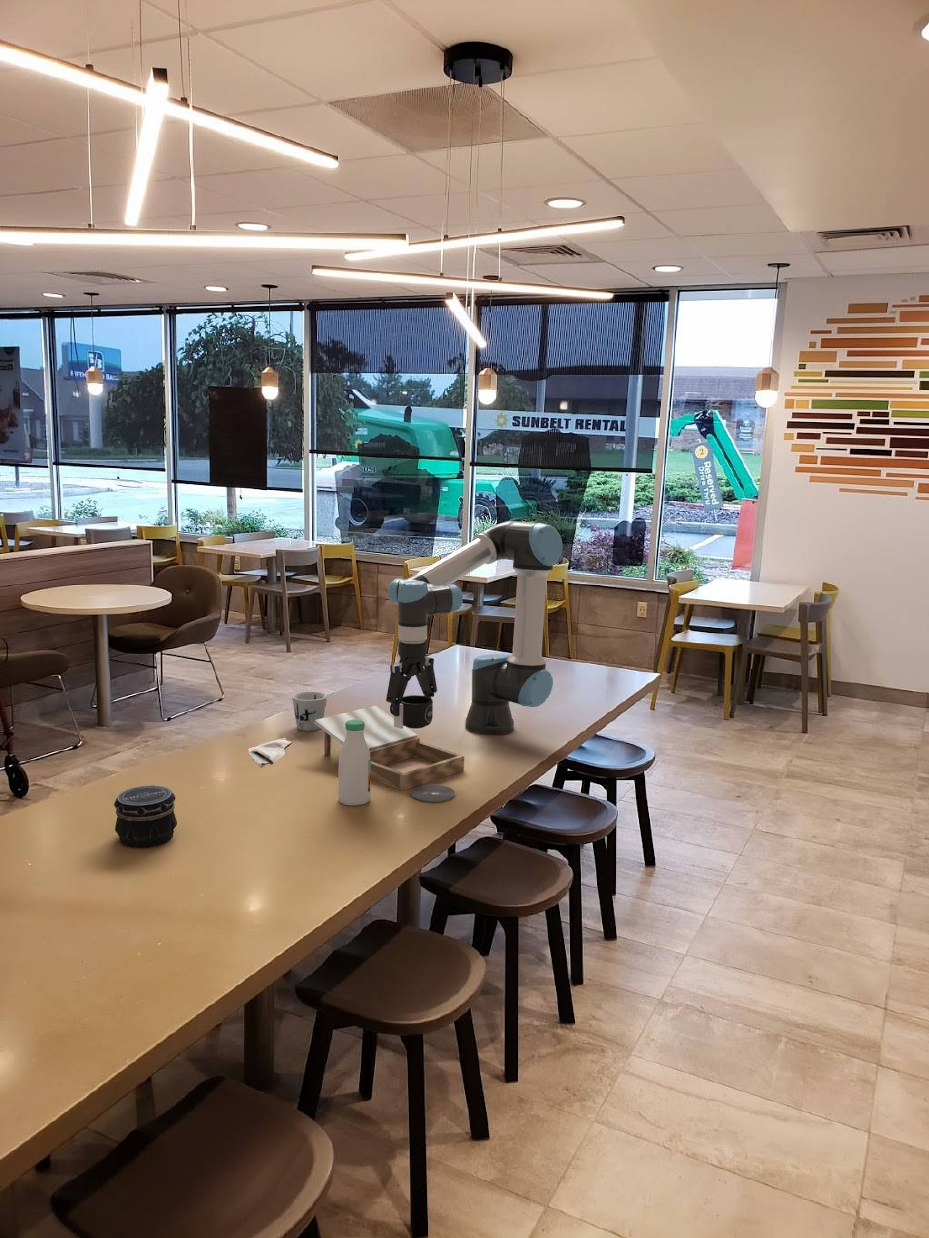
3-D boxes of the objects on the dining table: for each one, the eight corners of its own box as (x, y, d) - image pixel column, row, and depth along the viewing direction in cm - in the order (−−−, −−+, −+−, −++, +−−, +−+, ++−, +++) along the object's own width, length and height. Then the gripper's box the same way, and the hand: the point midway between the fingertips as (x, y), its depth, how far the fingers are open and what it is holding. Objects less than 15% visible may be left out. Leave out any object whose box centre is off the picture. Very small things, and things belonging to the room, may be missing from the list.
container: (142, 855, 194) (140, 810, 192) (102, 840, 201) (100, 796, 199) (189, 835, 205) (188, 792, 203) (150, 821, 211) (149, 779, 210)
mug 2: (437, 723, 248) (438, 697, 247) (423, 732, 240) (423, 705, 239) (397, 717, 253) (397, 692, 251) (382, 726, 245) (382, 700, 243)
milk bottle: (364, 807, 223) (365, 727, 219) (334, 804, 224) (334, 724, 221) (374, 796, 230) (375, 718, 227) (344, 793, 232) (344, 716, 228)
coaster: (432, 783, 240) (432, 781, 240) (463, 794, 233) (463, 792, 233) (401, 793, 232) (401, 791, 232) (432, 806, 225) (432, 803, 225)
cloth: (269, 737, 276) (269, 730, 275) (312, 743, 272) (312, 735, 272) (224, 765, 251) (224, 757, 251) (270, 771, 247) (270, 763, 247)
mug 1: (285, 729, 282) (285, 697, 280) (311, 717, 296) (311, 686, 294) (315, 734, 278) (315, 702, 276) (340, 721, 292) (340, 690, 290)
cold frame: (374, 739, 275) (375, 705, 273) (463, 770, 251) (464, 733, 249) (314, 756, 259) (314, 719, 257) (403, 790, 235) (403, 750, 233)
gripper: (431, 632, 253) (431, 712, 257) (371, 644, 237) (371, 729, 241) (451, 636, 248) (450, 718, 252) (391, 649, 232) (391, 735, 236)
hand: (411, 723), depth 247 cm, fingers closed on mug 2, 9 cm apart
